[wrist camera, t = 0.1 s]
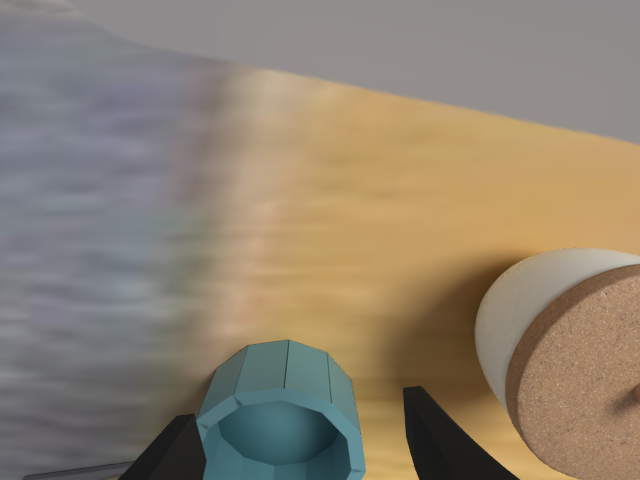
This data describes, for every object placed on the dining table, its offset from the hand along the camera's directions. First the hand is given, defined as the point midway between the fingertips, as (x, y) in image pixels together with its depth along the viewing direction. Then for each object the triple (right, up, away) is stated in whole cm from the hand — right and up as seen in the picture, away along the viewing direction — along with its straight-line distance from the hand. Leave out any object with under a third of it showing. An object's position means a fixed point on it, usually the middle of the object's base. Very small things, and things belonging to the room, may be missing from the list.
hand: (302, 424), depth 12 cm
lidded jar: (+14, +2, +11) cm, 18 cm away
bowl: (-2, -5, +12) cm, 13 cm away
